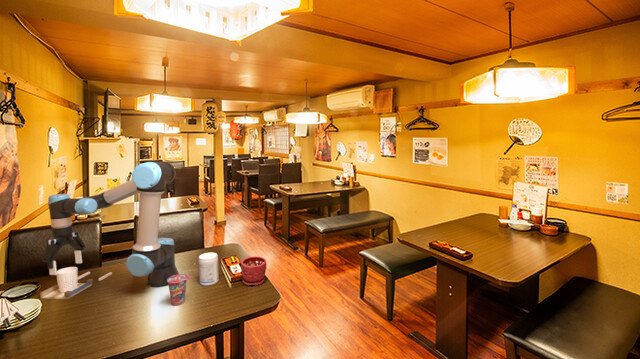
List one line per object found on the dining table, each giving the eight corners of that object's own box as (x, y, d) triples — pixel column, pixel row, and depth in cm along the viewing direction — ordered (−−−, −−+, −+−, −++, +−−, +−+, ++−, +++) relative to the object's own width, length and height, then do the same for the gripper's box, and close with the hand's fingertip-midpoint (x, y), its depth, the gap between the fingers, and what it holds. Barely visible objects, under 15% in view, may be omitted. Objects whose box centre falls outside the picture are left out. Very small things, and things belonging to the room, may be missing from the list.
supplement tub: (208, 276, 159) (207, 251, 157) (222, 279, 156) (221, 253, 154) (195, 284, 150) (194, 257, 148) (210, 287, 147) (209, 259, 145)
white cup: (67, 294, 137) (65, 274, 136) (53, 292, 138) (51, 272, 137) (83, 286, 144) (81, 267, 143) (69, 285, 146) (68, 266, 145)
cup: (168, 309, 126) (166, 283, 125) (168, 300, 134) (167, 276, 132) (191, 304, 130) (190, 279, 129) (190, 296, 138) (189, 272, 137)
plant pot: (236, 285, 149) (235, 263, 148) (251, 275, 161) (251, 254, 160) (257, 290, 144) (257, 267, 143) (271, 279, 156) (271, 258, 155)
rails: (112, 274, 161) (112, 272, 161) (100, 280, 153) (100, 278, 153) (88, 273, 161) (88, 271, 161) (75, 279, 153) (75, 278, 153)
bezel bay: (92, 284, 148) (92, 279, 147) (68, 299, 134) (67, 292, 134) (68, 284, 148) (67, 278, 148) (40, 298, 134) (40, 291, 134)
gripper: (77, 219, 150) (81, 258, 152) (27, 233, 125) (33, 280, 128) (91, 219, 150) (95, 258, 152) (43, 233, 125) (49, 280, 127)
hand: (66, 268), depth 140 cm, fingers open, 13 cm apart
